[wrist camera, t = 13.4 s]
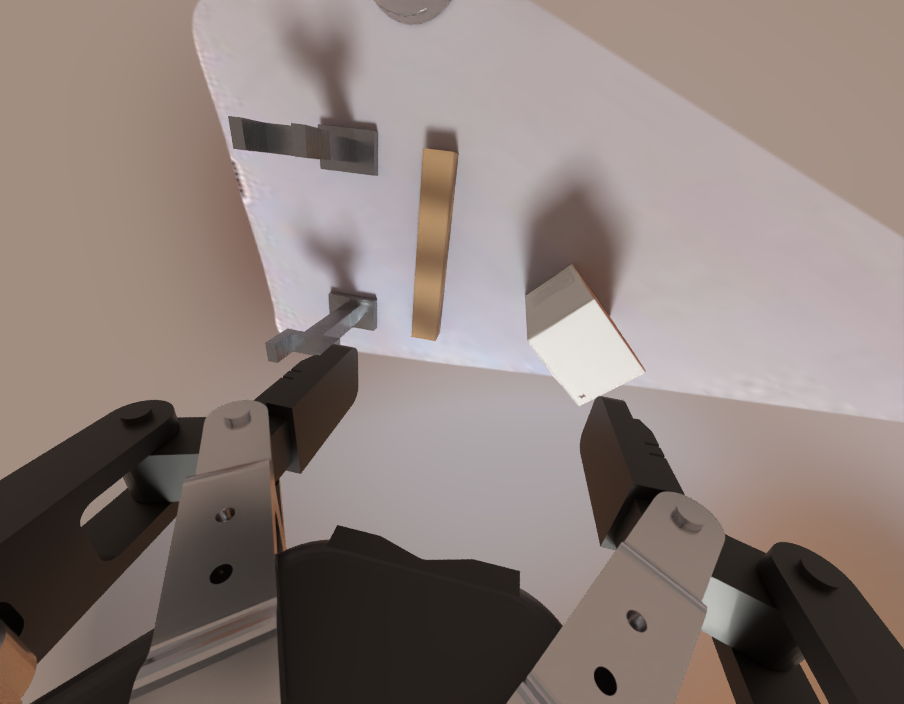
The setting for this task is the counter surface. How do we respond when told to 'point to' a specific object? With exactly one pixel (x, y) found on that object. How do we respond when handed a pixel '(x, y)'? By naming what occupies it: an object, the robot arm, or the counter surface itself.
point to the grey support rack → (335, 153)
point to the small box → (578, 338)
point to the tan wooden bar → (433, 240)
